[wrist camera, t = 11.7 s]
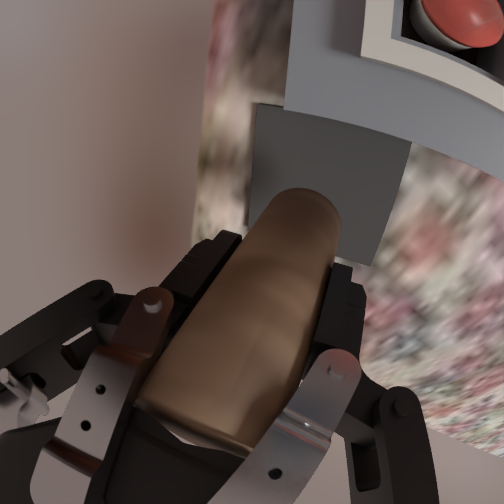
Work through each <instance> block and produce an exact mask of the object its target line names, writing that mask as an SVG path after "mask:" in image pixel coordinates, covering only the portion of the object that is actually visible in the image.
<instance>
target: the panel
mask: <svg viewBox="0 0 504 504" xmlns="http://www.w3.org/2000/svg"><path fill="white" fill-rule="evenodd" d="M403 1H404V0H294V5H293V16H292V27H291V38H290V49H289V59H288V69H287V79H286V89H285V98H284V108H283V110H289V111H295V112H300V113H306V114H311V115H316V116H320V117H325V118H330V119H334V120H338V121H343V122H347V123H351V124H355V125H358V126H362V127H366V128H369V129H373V130H376V131H380V132H383V133H386V134H390V135H393V136H396V137H399V138H402V139H405V140H408V141H411V142H414V143H417V144H419V145H422V146H425V147H427V148H430V149H433V150H435V151H438V152H440V153H443V154H445V155H448V156H450V157H453V158H455V159H457V160H459V161H462V162H464V163H466V164H468V165H471V166H473V167H475V168H477V169H479V170H481V171H483V172H485V173H487V174H489V175H491V176H493V177H495V178H497V179H499V180H501V181H503V182H504V32H503V35H502V37H501V39H500V40H499V41H498V42H497V43H495V44H493V45H491V46H487V47H480V48H478V53H477V62H476V66H474V65H472V64H470V63H468V62H466V61H464V60H462V59H460V58H457V57H455V56H453V55H451V54H448V53H446V52H443V51H441V50H438V49H436V48H433V47H431V46H428V45H425V44H422V43H420V42H417V41H414V40H411V39H408V38H404V37H401V27H402V16H403ZM497 2H498V3H499V5H500V8H501V10H502V13H503V17H504V0H497Z"/></svg>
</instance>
